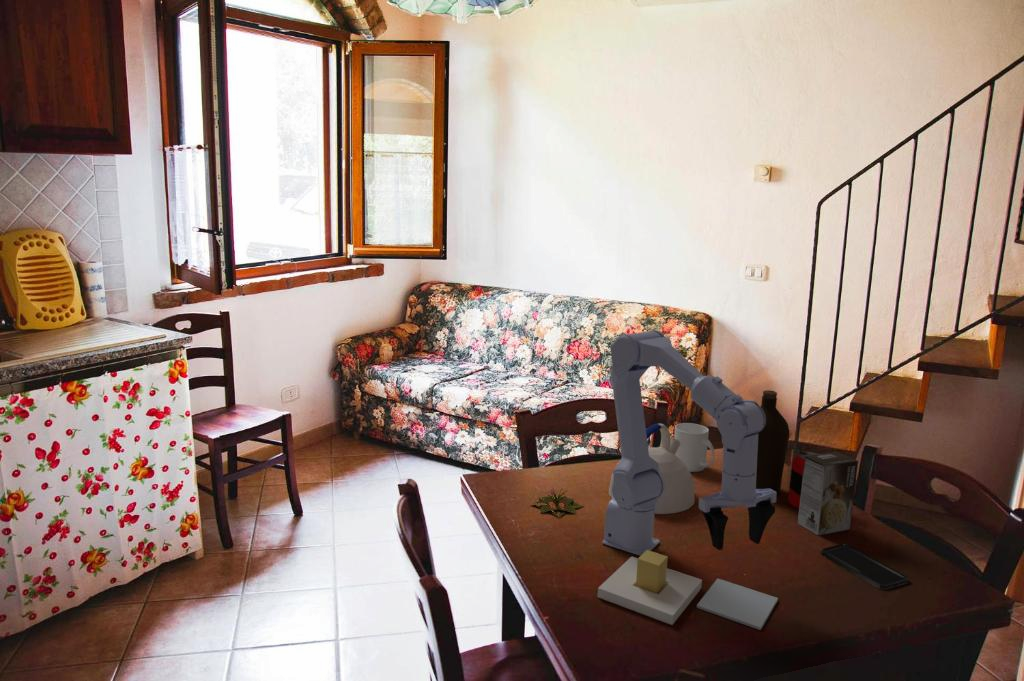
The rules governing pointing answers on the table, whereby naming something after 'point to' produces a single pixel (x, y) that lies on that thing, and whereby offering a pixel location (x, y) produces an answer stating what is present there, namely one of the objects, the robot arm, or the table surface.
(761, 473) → the olive oil
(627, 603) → the pocket holder
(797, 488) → the soda can
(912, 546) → the table surface
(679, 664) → the table surface
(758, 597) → the mat
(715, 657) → the table surface
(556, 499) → the green leafy plant
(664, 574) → the block
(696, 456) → the mug
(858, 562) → the phone
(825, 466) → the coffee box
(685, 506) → the kettle
